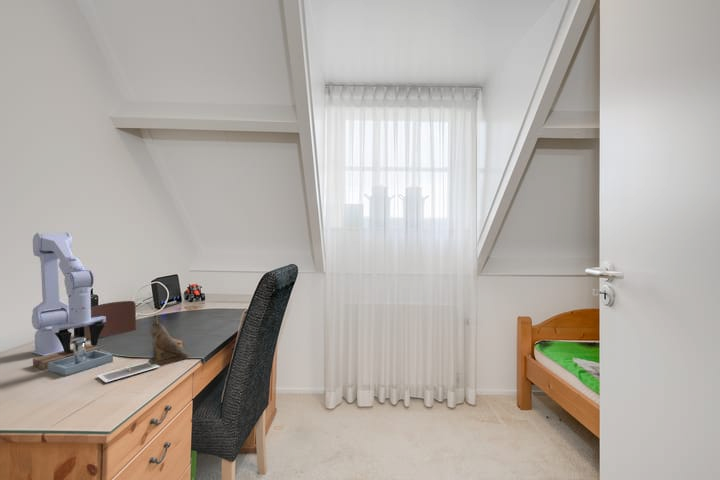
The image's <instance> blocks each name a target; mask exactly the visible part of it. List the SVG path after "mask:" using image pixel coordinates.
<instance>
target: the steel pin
mask: <svg viewBox="0 0 720 480" xmlns="http://www.w3.org/2000/svg"><path fill="white" fill-rule="evenodd" d="M85 341H86V342H89V341H88V337H79V338H72V339H70V344H73V348H74V358H75V365H76V364H79V363H83V362H86V345H87V344H86V342H85Z"/></svg>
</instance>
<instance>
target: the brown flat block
mask: <svg viewBox="0 0 720 480" xmlns="http://www.w3.org/2000/svg"><path fill="white" fill-rule="evenodd" d="M85 345H86V352H89V351H93V350H98V351H101V350H100V348H101V347H99V346H97V345H96V346H92V345H91V344H85ZM71 356H74V347H73V348H70V353H65V352H64V351H61V352H57V353H53V354H49V355H45V356H42V355H41V356H39V357H34V358H32V366H33V367H34V368H37V369H40V370H43V371H48V363H49V362H53V361H56V360H60V359H64V358H67V357H71Z"/></svg>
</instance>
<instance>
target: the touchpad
mask: <svg viewBox="0 0 720 480" xmlns="http://www.w3.org/2000/svg"><path fill="white" fill-rule="evenodd" d="M160 367H161V365H157V364H153V365H151V364H150V363H149V360H148V361H145V362H141V363H138V364H133V365H131V366H126V367H123V368H119V369H116V370H112V371H108V372H105V373H102V374H98V375H96V376H97V378H99V379H101V381H103V382H104V383H109V382H111V381H115V380H119V379H122V378H126V377H129V376H133V375H136V374H139V373H142V372H146V371H150V370H153V369H157V368H160Z"/></svg>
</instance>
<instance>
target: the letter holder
mask: <svg viewBox="0 0 720 480" xmlns="http://www.w3.org/2000/svg"><path fill="white" fill-rule="evenodd" d="M136 308H137V307H136V302H135V301H133V300H126V301H125V300H124V301H113V302H107V303H102V304H97V305H93V306H91V318H93V317H99V316H106V322H103V323H104V328H103V329H102V331H101V333H100V335H99V338H98V339H102V337H103V338H107V337H110V336H111V335H112V336H115V335H120V334H125V333H128V332H133V330H134V331H136V330H137V320H136V319H137V317H136V316H137V315H136V313H137V311H136V310H137V309H136ZM112 336H111V337H112ZM79 337H88V341H85V343H86V342H89V341H90V342H91V335H90V329H89V325H87V326H83V327H78V328H73V339H75V338H79Z"/></svg>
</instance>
